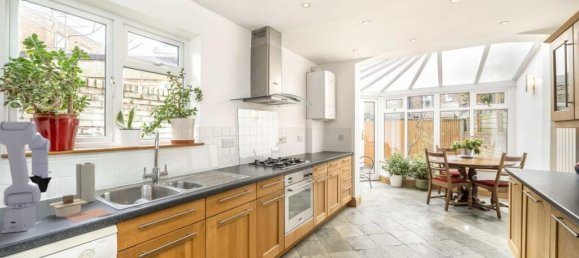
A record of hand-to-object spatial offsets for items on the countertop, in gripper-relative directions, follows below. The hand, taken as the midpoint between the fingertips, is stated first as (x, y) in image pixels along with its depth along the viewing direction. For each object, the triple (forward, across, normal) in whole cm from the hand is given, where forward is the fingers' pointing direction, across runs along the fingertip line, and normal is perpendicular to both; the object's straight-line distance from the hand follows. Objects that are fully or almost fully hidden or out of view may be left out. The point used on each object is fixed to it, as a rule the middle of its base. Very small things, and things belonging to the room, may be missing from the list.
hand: (40, 191), depth 124 cm
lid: (+6, -14, -6) cm, 16 cm away
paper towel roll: (+11, +3, -20) cm, 23 cm away
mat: (+10, -24, -10) cm, 28 cm away
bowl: (+10, -14, -6) cm, 18 cm away
